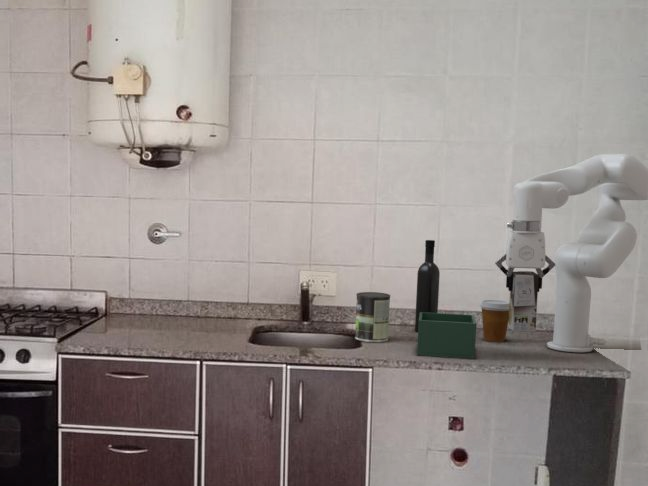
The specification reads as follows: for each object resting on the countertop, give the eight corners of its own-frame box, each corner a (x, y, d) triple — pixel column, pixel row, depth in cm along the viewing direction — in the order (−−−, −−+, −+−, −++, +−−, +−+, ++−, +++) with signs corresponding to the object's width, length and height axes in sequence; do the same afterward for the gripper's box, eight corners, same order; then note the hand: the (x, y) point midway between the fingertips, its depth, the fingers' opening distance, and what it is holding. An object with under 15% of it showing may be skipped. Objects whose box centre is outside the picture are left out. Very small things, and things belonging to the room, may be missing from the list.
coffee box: (536, 332, 225) (539, 274, 223) (512, 331, 227) (514, 274, 224) (531, 326, 234) (533, 270, 232) (507, 325, 235) (510, 270, 233)
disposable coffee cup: (476, 341, 253) (478, 302, 251) (480, 336, 262) (482, 299, 260) (508, 344, 249) (510, 305, 247) (512, 338, 257) (514, 301, 256)
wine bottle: (413, 331, 268) (417, 240, 265) (423, 329, 272) (427, 239, 268) (428, 333, 264) (432, 241, 260) (438, 331, 268) (442, 240, 264)
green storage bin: (472, 348, 241) (474, 315, 240) (474, 359, 226) (476, 323, 225) (418, 344, 245) (419, 312, 244) (417, 355, 230) (418, 320, 229)
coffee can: (355, 341, 248) (357, 296, 246) (354, 335, 258) (355, 291, 257) (390, 343, 247) (392, 297, 245) (387, 336, 257) (388, 292, 256)
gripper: (494, 227, 225) (492, 291, 227) (562, 228, 221) (558, 293, 223) (493, 225, 232) (490, 288, 235) (558, 226, 228) (554, 290, 230)
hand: (523, 290), depth 229 cm, fingers closed on coffee box, 6 cm apart
